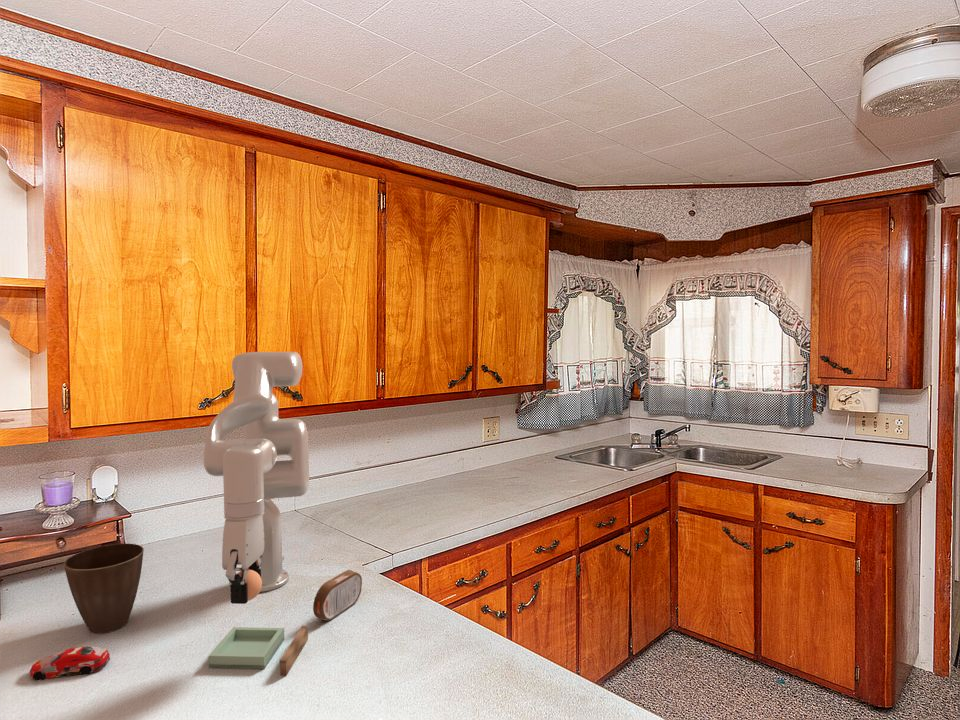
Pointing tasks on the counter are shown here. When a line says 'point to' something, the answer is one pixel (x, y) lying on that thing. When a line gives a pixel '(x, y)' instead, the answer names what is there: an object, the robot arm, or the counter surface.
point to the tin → (337, 595)
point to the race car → (70, 663)
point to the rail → (293, 651)
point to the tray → (246, 648)
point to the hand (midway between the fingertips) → (246, 594)
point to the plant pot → (105, 584)
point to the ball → (252, 583)
